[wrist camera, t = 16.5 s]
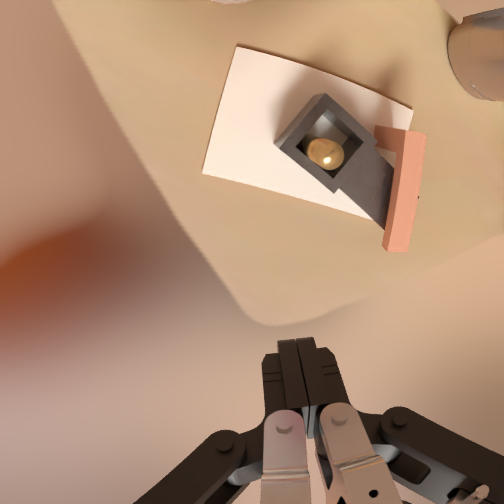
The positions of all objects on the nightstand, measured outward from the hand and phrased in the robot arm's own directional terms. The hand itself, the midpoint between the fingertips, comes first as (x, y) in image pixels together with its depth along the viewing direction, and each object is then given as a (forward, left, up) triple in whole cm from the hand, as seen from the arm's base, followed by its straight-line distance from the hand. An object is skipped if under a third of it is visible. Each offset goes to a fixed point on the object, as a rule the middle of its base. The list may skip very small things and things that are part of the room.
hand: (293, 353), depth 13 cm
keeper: (-7, +10, -19) cm, 22 cm away
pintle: (-7, +2, -19) cm, 20 cm away
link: (-7, +6, -18) cm, 20 cm away
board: (-8, +2, -19) cm, 21 cm away
